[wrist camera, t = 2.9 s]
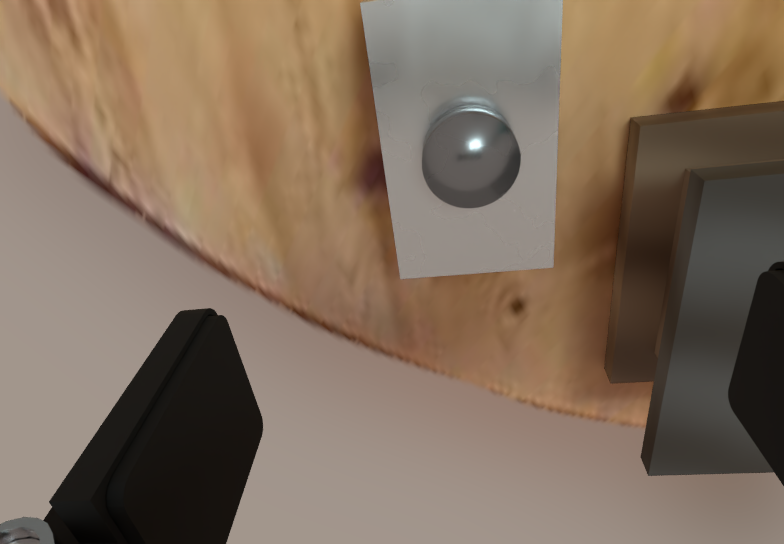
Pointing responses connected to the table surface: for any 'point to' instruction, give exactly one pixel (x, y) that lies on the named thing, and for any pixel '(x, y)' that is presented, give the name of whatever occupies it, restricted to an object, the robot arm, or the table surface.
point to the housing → (468, 130)
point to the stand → (694, 275)
